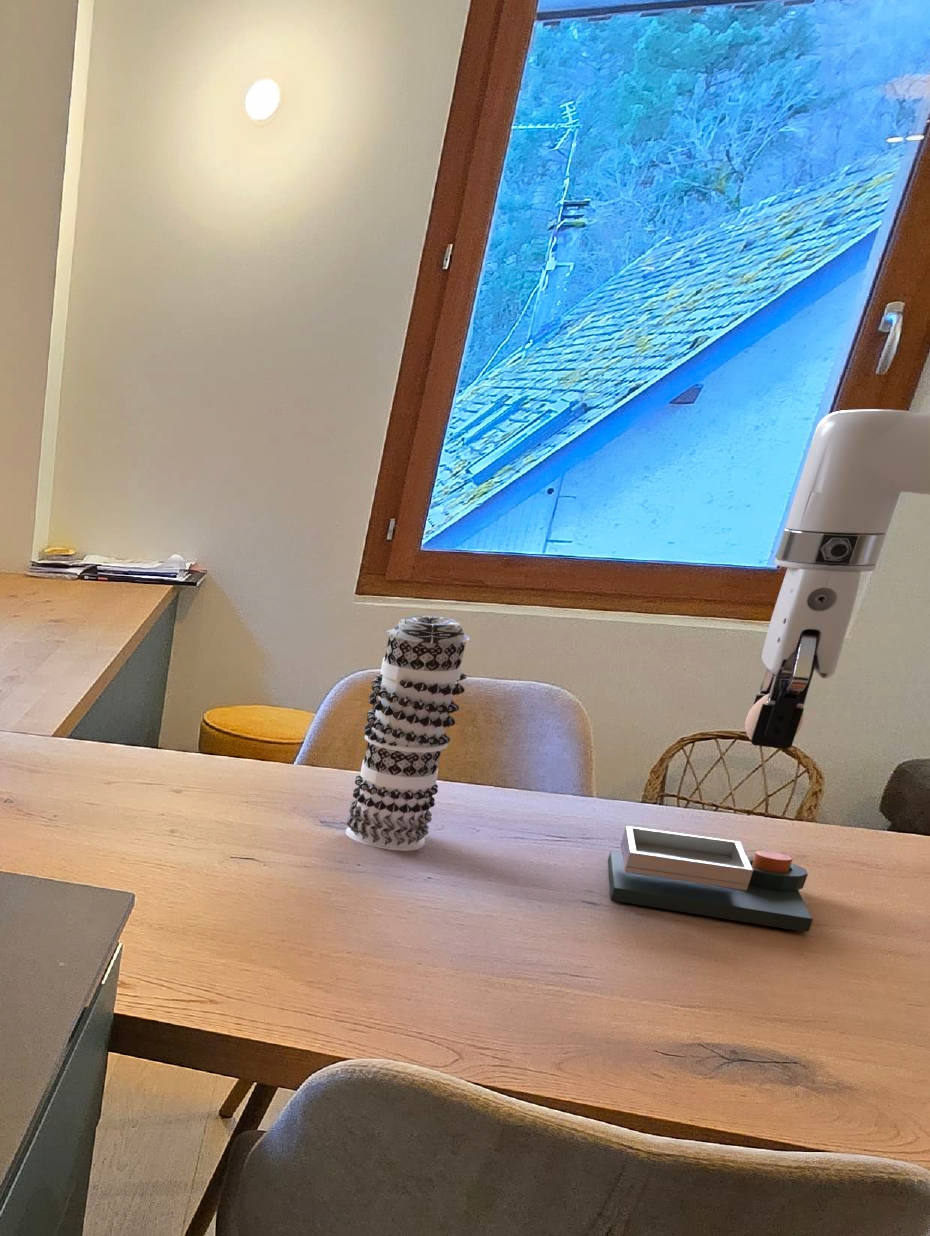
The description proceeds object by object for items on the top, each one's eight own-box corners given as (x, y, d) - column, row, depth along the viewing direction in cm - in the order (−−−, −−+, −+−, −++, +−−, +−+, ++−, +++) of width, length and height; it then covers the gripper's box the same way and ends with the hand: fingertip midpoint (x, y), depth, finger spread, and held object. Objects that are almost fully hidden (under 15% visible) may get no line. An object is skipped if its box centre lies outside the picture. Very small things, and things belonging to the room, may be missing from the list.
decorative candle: (446, 843, 136) (499, 622, 125) (394, 860, 132) (443, 633, 121) (376, 819, 143) (420, 608, 132) (324, 834, 139) (365, 617, 128)
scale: (792, 890, 124) (802, 862, 123) (814, 933, 113) (825, 904, 112) (606, 862, 131) (614, 836, 130) (610, 900, 121) (618, 872, 120)
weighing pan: (734, 860, 123) (741, 841, 122) (746, 890, 115) (753, 870, 114) (620, 844, 128) (625, 825, 127) (624, 872, 120) (630, 852, 119)
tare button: (785, 867, 122) (790, 853, 122) (790, 876, 120) (795, 862, 119) (749, 862, 124) (754, 848, 123) (753, 871, 121) (758, 856, 121)
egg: (769, 754, 118) (788, 698, 115) (727, 742, 122) (745, 687, 119) (803, 750, 119) (824, 694, 116) (760, 738, 123) (779, 683, 120)
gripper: (897, 561, 104) (827, 764, 111) (862, 546, 118) (801, 729, 125) (790, 556, 108) (728, 753, 115) (768, 542, 121) (714, 720, 128)
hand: (767, 738), depth 120 cm, fingers closed on egg, 4 cm apart
